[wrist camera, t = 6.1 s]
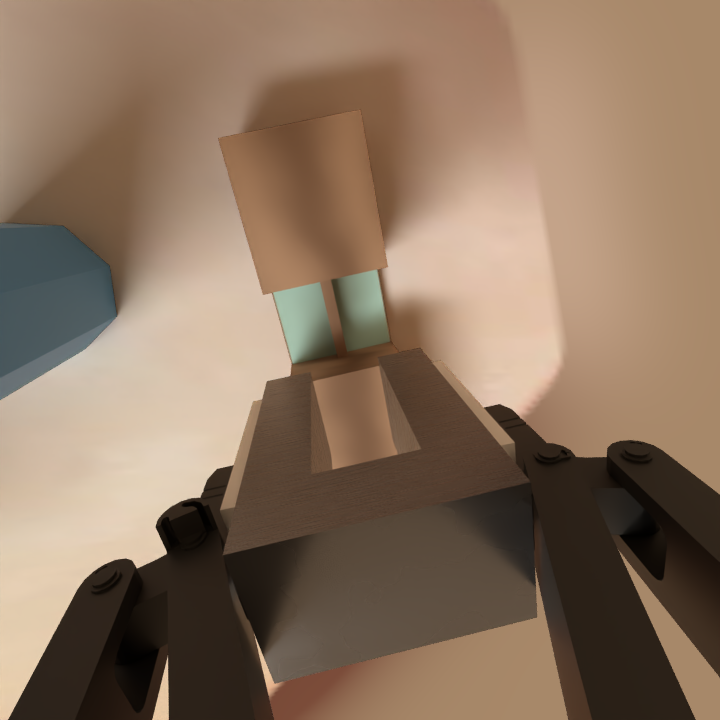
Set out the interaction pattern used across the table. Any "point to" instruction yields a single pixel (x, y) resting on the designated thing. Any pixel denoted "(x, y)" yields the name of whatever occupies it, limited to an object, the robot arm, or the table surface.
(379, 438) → the rail
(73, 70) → the table surface
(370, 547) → the clip
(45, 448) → the table surface
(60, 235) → the water bottle
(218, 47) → the table surface
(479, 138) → the table surface
